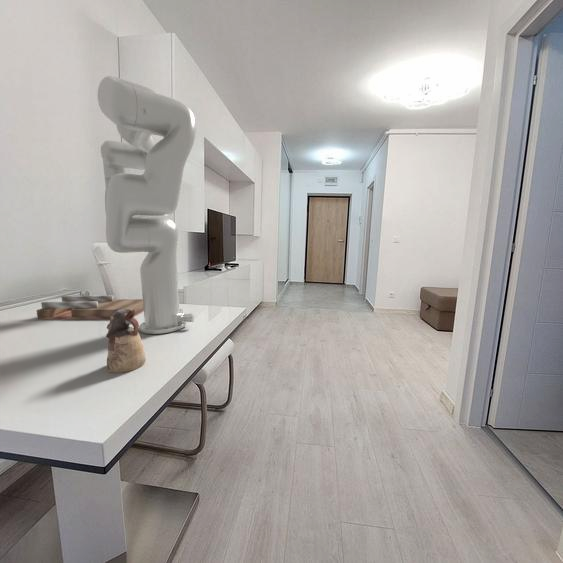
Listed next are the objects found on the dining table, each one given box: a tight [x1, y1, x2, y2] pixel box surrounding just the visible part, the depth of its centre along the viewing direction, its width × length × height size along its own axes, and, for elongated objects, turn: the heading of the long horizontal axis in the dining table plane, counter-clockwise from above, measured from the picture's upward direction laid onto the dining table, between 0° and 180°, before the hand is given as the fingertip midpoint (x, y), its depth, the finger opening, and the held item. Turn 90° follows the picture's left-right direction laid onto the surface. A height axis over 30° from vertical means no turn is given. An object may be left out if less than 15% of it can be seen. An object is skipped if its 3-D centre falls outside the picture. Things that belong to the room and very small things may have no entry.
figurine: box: [105, 309, 147, 374], centre depth 59 cm, size 7×7×12 cm
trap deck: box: [36, 295, 144, 320], centre depth 98 cm, size 30×14×5 cm, turn 91°
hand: (123, 238), depth 102 cm, fingers closed on block, 5 cm apart
